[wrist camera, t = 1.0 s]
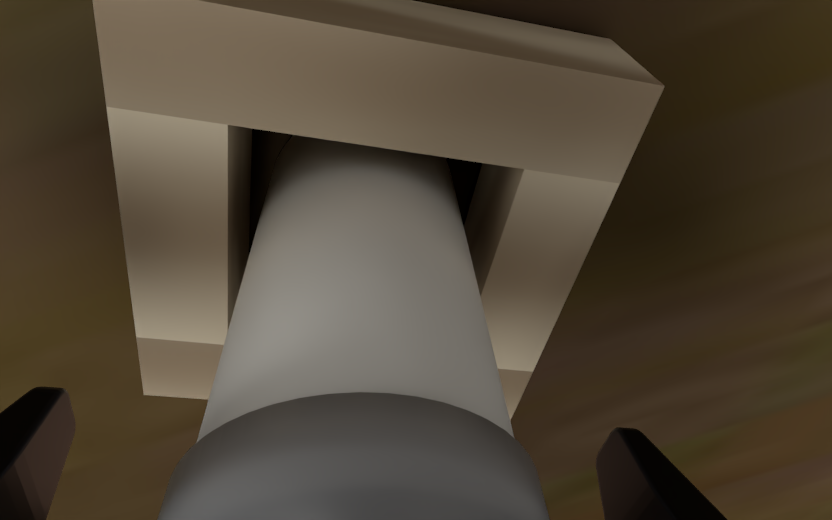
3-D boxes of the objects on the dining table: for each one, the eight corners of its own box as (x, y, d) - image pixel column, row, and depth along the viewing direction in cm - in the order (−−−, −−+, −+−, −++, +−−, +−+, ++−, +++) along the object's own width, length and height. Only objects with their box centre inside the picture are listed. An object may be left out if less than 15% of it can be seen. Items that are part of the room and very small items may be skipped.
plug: (437, 281, 17) (497, 676, 9) (259, 262, 16) (154, 680, 8) (482, 120, 14) (632, 500, 6) (266, 84, 13) (112, 475, 5)
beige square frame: (492, 345, 19) (510, 420, 16) (174, 316, 17) (144, 394, 15) (610, 38, 13) (664, 85, 11) (148, -52, 11) (89, -20, 9)
